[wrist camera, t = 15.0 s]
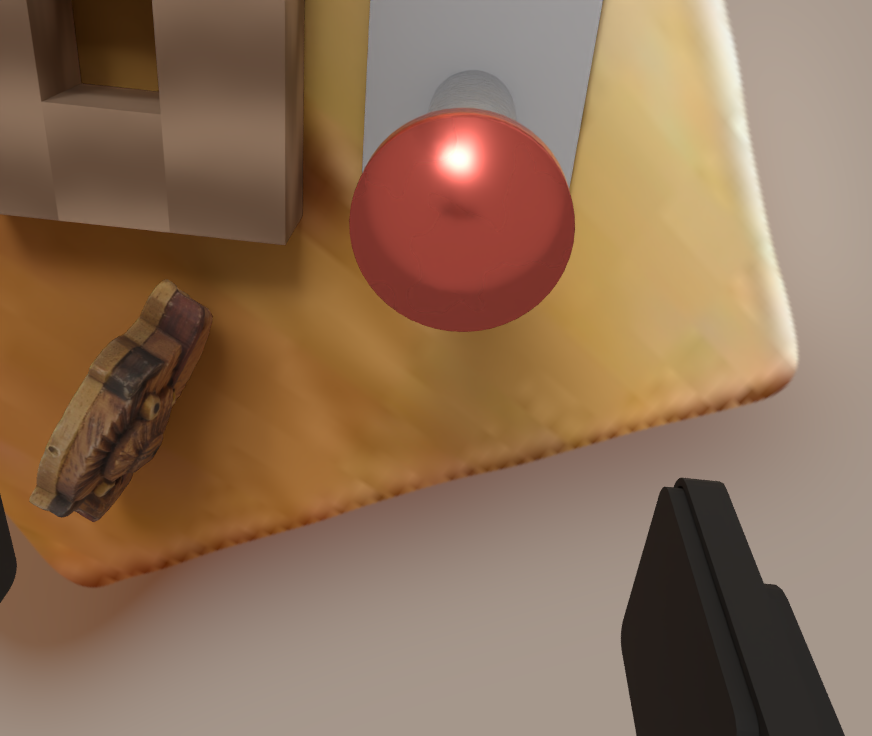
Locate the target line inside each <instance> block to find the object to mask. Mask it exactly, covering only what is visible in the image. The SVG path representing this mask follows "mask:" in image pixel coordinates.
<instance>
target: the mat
mask: <svg viewBox="0 0 872 736" xmlns="http://www.w3.org/2000/svg"><path fill="white" fill-rule="evenodd" d="M602 2H603V0H370V16H369V38H368V59H367V81H366V102H365V123H364V145H363V166H362V173H363V171H364V169H365V167H366V165H367V163H368V161H369V160H370V158H371V156H372V155H373V153H374V152H375V151H376V149H377V148H378V147H379V146H380V144H381V143H382V142H383V141H384V140H385V139H386V138H387V137H388V136H389V135H390V134H391V133H393V132H394V131H395V130H397V129H398V128H400V127H401V126H402V125H404V124H406V123H407V122H409V121H411V120H413V119H415V118H417V117H419V116H422V115H425V114H427V113H428V109H429V106H430V103H431V99H432V97H433V95H434V93H435V91H436V89H437V88H438V87H439V85H440V84H441V83H442V82H443V81H444V80H446V79H447V78H448V77H450V76H451V75H453V74H455V73H458V72H461V71H465V70H480V71H484V72H487V73H490V74H492V75H494V76H495V77H497V78H498V79H499V80H501V81H502V82H503V83H504V84H505V86H506V87H507V88H508V90H509V91H510V93H511V95H512V98H513V101H514V105H515V111H516V121H517V122H519V123H520V124H522V125H523V126H525V127H526V128H528V129H529V130H531V131H532V132H533V133H534V134H535V135H537V136H538V137H539V138H540V139H541V140H542V141H543V142H544V143H545V144H546V146H547V147H548V148H549V149H550V150H551V152H552V153H553V155H554V156H555V158H556V159H557V161H558V162H559V164H560V166H561V169H562V171H563V173H564V175H565V178H566V181H567V184H568V187H570V182H571V176H572V170H573V165H574V159H575V154H576V148H577V142H578V137H579V131H580V126H581V120H582V114H583V109H584V103H585V98H586V92H587V86H588V81H589V75H590V70H591V64H592V58H593V53H594V47H595V42H596V36H597V30H598V25H599V19H600V14H601V8H602Z"/></svg>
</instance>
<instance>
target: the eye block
mask: <svg viewBox="0 0 872 736" xmlns="http://www.w3.org/2000/svg"><path fill="white" fill-rule="evenodd" d="M152 7H153V20H154V33H155V46H156V59H157V72H158V85H159V92H157V91H148V90H139V89H129V88H120V87H111V86H101V85H92V84H83V83H81V75H80V67H79V59H78V51H77V43H76V34H75V26H74V18H73V10H72V2H71V0H0V214H3V215H12V216H22V217H31V218H40V219H49V220H58V221H67V222H77V223H86V224H95V225H104V226H113V227H123V228H132V229H141V230H150V231H159V232H169V233H178V234H187V235H196V236H205V237H215V238H224V239H233V240H242V241H251V242H261V243H270V244H279V245H286V243H287V241H288V240H289V238H290V236H291V235H292V233H293V231H294V229H295V228H296V226H297V224H298V223H299V221H300V219H301V218H302V214H303V111H304V7H305V0H152Z"/></svg>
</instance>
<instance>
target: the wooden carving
mask: <svg viewBox="0 0 872 736" xmlns="http://www.w3.org/2000/svg"><path fill="white" fill-rule="evenodd" d="M212 318H213V316H212V314H211V312H210V311H209V309H208V308H206V307H205V306H203V305H201V304H200V303H198V302H196V301H195V300H193V299H191V298H190V296H189V295H188V294H186V293H185V292H183V291H181V290H180V289H178V288H177V286H176V285H175V284H174V283H172V282H171V281H169V280H168V279H166V280H163V281H162V282H160V283H159V284H158V285H157V286H156V287H155V289H154V290H153V292H152V293H151V294H150V296H149V298H148V300H147V302H146V304H145V306H144V308H143V310H142V313H141V315H140V317H139V318H138V319H137V321H136V322H135V323H134V324H133V325H132V326H131V327H130V329H129V330H128V331H127V332H126V333H125V334H124V335H122V336H119V337H117V338H115V339H114V340H112V341H111V342H110V343H109V344H108V345H107V346H106V347H105V348H104V349H103V350H102V351H101V353H100V354H99V355H98V356H97V358H96V359H95V360H94V362H93V363H92V364H91V366H90V368H89V372H88V374H87V376H86V378H85V379H84V381H83V382H82V384H81V386H80V387H79V389H78V390H77V392H76V393H75V395H74V397H73V398H72V400H71V402H70V403H69V405H68V407H67V409H66V410H65V412H64V415H63V417H62V419H61V420H60V421H59V423H58V425H57V426H56V428H55V430H54V432H53V434H52V436H51V438H50V440H49V442H48V444H47V446H46V448H45V453H44V455H43V457H42V459H41V461H40V464H39V469H38V474H37V486H36V488H35V489H34V491H33V493H32V495H31V496H30V502H31V503H32V504H34V505H36V506H37V507H39V508H41V509H43V510H47V511H50V512H52V513H53V514H55V515H57V516H58V517H66V516H68V515H70V514H71V513H72V512H73V511H75V512H77V513H79V514H80V515H82V516H84V517H85V518H87V519H89V520H90V521H92V522H95V521H97V520H99V519H100V518H101V517H102V516H103V515H104V514H105V513H106V512H107V511H108V510H109V509H110V507H111V506H112V505H113V504H114V503H115V501H116V500H117V499H118V498H119V496H120V495H121V493H122V492H123V490H124V489H125V487H126V486H127V485H128V484H129V482H130V480H131V478H132V475H133V472H136V471H137V470H138V469H140V468H141V467H142V466H143V465H144V464H146V463H147V462H149V461H150V460H151V459H152V458H153V457H154V455H155V454H156V452H157V450H158V449H159V447H160V445H161V443H162V440H163V433H164V431H165V428H166V425H167V422H168V420H169V417H170V412H171V408H172V406H173V405H174V404H175V403H176V399H177V398H178V397H179V396H180V395H181V390H183V389H184V388H185V386H186V382H187V381H188V380H189V378H190V375H191V374H192V372H193V370H194V368H195V365H196V363H197V362H198V360H199V358H200V356H201V354H202V352H203V348H204V346H205V343H206V341H207V339H208V336H209V332H210V327H211V324H212Z"/></svg>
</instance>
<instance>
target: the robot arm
mask: <svg viewBox="0 0 872 736" xmlns="http://www.w3.org/2000/svg"><path fill="white" fill-rule="evenodd" d="M16 567H17V563H16V557H15V553H14V549H13V545H12V540H11V536H10V532H9V528H8V524H7V520H6V516H5V512H4V508H3V504H2V500H1V495H0V603H1V601H2V600H3V598H4V597H5V595H6V594H7V592H8V591H9V589H10V587H11V586H12V584H13V581H14V578H15V575H16ZM621 647H622V655H623V660H624V666H625V672H626V677H627V683H628V688H629V695H630V700H631V706H632V711H633V717H634V723H635V729H636V735H637V736H845V735H844V733H843V730H842V728H841V725H840V723H839V721H838V718H837V716H836V714H835V711H834V709H833V706H832V704H831V702H830V699H829V697H828V694H827V692H826V690H825V687H824V685H823V682H822V680H821V678H820V675H819V673H818V670H817V668H816V666H815V663H814V661H813V659H812V656H811V654H810V651H809V649H808V647H807V644H806V642H805V640H804V637H803V635H802V632H801V630H800V628H799V625H798V623H797V620H796V618H795V616H794V613H793V611H792V608H791V606H790V604H789V601H788V599H787V597H786V596H785V594H784V592H783V590H782V589H781V588H779V587H778V586H777V585H772V584H764V583H763V581H762V578H761V576H760V573H759V571H758V568H757V565H756V563H755V560H754V558H753V555H752V553H751V550H750V548H749V545H748V542H747V540H746V537H745V535H744V532H743V530H742V527H741V525H740V522H739V520H738V517H737V514H736V512H735V509H734V507H733V505H732V502H731V499H730V497H729V494H728V492H727V489H726V487H725V485H724V484H723V483H721V482H718V481H709V480H699V479H689V478H679V479H678V480H677V481H676V483H675V485H674V488H673V487H663V488H662V490H661V491H660V494H659V497H658V501H657V504H656V508H655V511H654V515H653V518H652V522H651V525H650V529H649V532H648V536H647V540H646V543H645V546H644V550H643V553H642V557H641V560H640V564H639V567H638V570H637V574H636V577H635V581H634V584H633V588H632V591H631V595H630V598H629V602H628V605H627V609H626V612H625V616H624V619H623V624H622V630H621Z"/></svg>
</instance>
